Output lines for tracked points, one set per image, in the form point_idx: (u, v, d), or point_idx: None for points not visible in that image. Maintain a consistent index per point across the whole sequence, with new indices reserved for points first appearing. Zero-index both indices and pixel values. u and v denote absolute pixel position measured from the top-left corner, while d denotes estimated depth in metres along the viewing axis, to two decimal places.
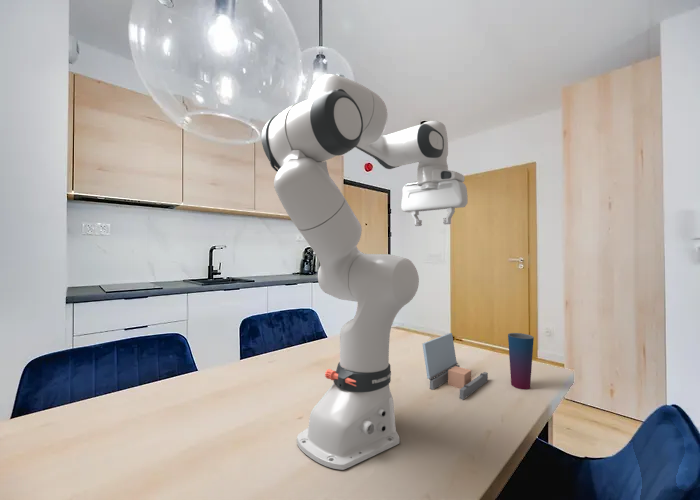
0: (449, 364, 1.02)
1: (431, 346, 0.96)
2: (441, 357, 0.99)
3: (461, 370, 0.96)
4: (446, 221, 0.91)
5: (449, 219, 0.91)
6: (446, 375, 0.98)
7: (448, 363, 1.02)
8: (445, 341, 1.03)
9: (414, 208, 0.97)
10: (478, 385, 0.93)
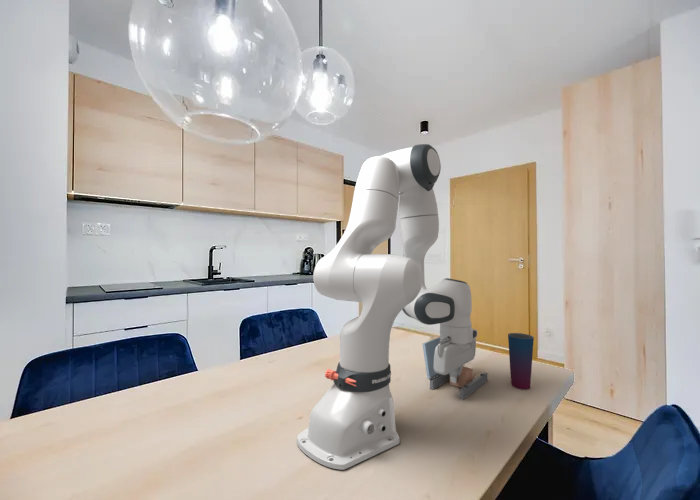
0: None
1: (431, 346, 0.96)
2: None
3: (462, 368, 0.96)
4: (459, 378, 0.93)
5: None
6: (446, 375, 0.98)
7: None
8: None
9: (453, 369, 0.88)
10: (478, 385, 0.93)
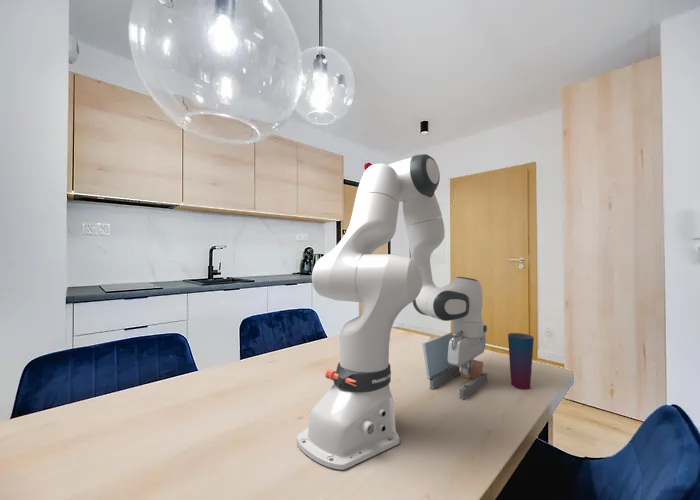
0: (449, 364, 1.02)
1: (431, 346, 0.96)
2: (441, 357, 0.99)
3: (473, 361, 1.03)
4: (470, 370, 0.99)
5: None
6: (446, 375, 0.98)
7: (448, 363, 1.02)
8: (445, 341, 1.03)
9: (465, 361, 0.95)
10: (478, 385, 0.93)
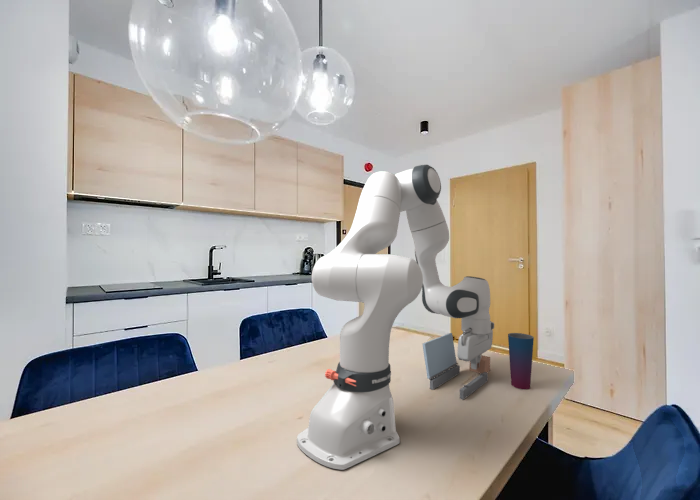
0: (449, 364, 1.02)
1: (431, 346, 0.96)
2: (441, 357, 0.99)
3: (481, 357, 1.08)
4: (478, 365, 1.04)
5: None
6: (446, 375, 0.98)
7: (448, 363, 1.02)
8: (445, 341, 1.03)
9: (474, 356, 0.99)
10: (478, 385, 0.93)
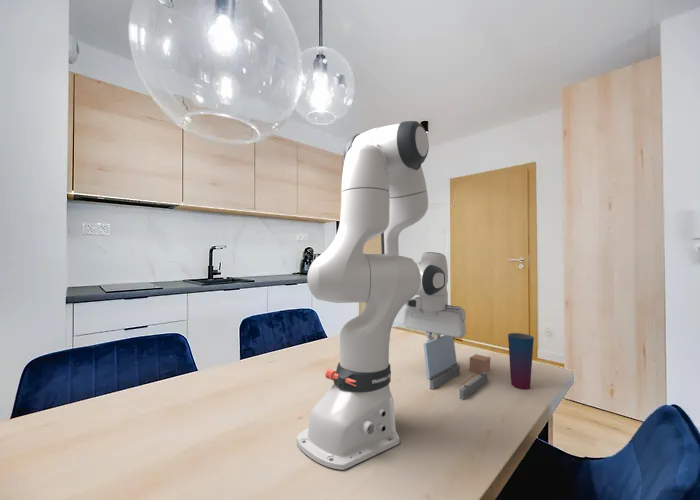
0: (449, 364, 1.02)
1: (432, 346, 0.96)
2: (441, 357, 0.99)
3: (481, 357, 1.08)
4: None
5: None
6: (446, 375, 0.98)
7: (448, 363, 1.02)
8: (446, 341, 1.02)
9: None
10: (478, 385, 0.93)
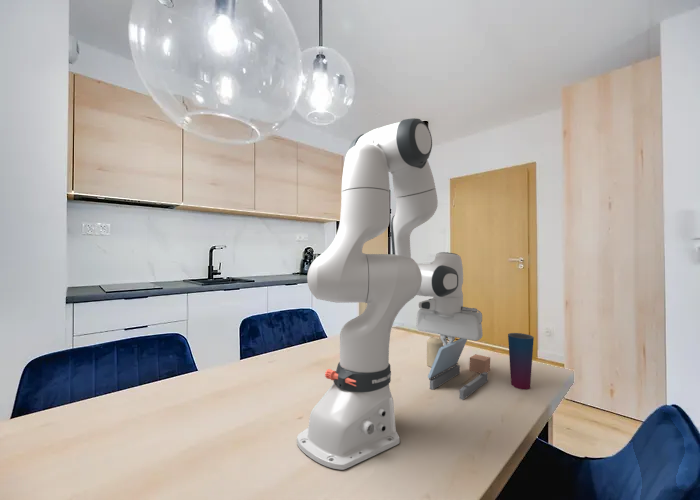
0: (451, 365, 1.02)
1: (445, 351, 0.93)
2: (448, 359, 0.98)
3: (481, 357, 1.08)
4: None
5: None
6: (446, 375, 0.98)
7: (450, 364, 1.01)
8: (458, 345, 1.00)
9: None
10: (478, 385, 0.93)
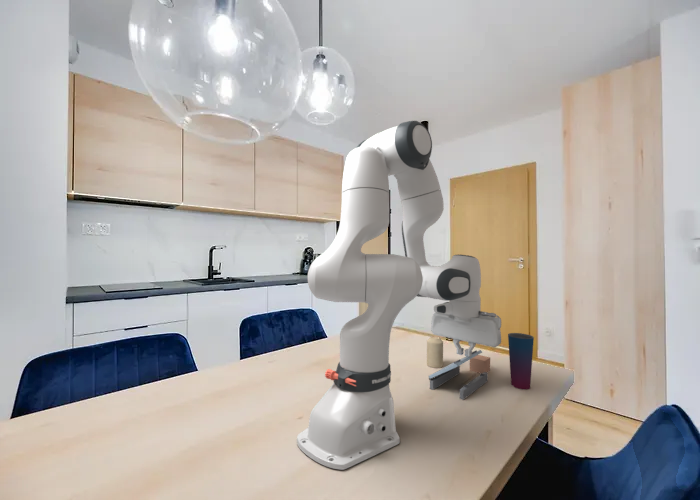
0: None
1: None
2: None
3: (481, 357, 1.08)
4: None
5: None
6: (446, 375, 0.98)
7: None
8: None
9: None
10: (478, 385, 0.93)
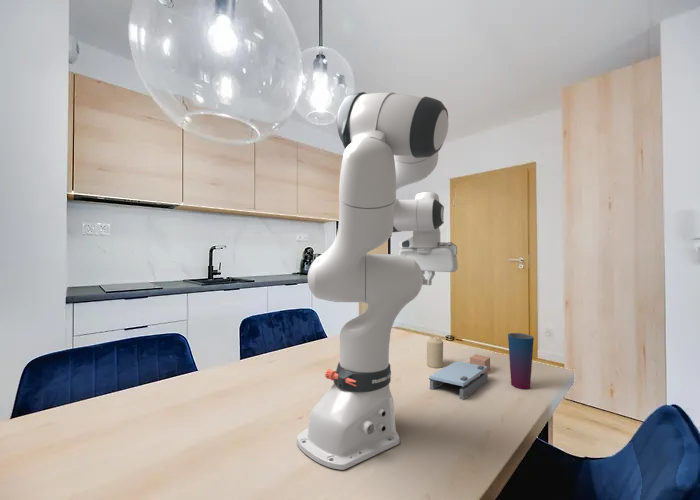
0: None
1: None
2: None
3: (481, 357, 1.08)
4: None
5: None
6: None
7: None
8: None
9: None
10: (478, 385, 0.93)
